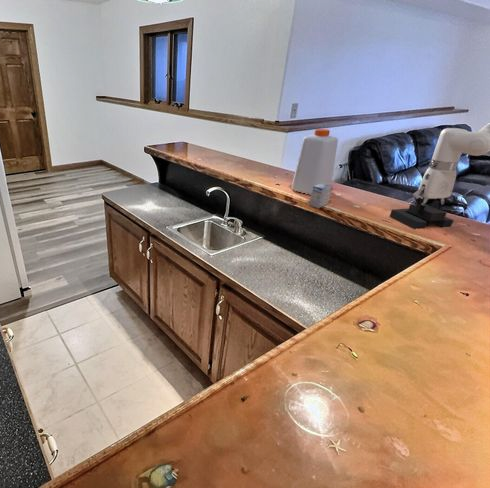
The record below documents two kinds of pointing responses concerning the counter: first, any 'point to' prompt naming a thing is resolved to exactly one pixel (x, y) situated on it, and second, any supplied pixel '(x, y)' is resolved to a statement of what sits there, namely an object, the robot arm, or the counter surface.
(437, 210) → the black pad
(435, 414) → the counter surface
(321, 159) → the plastic bottle
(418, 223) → the base pad
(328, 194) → the medicine box
